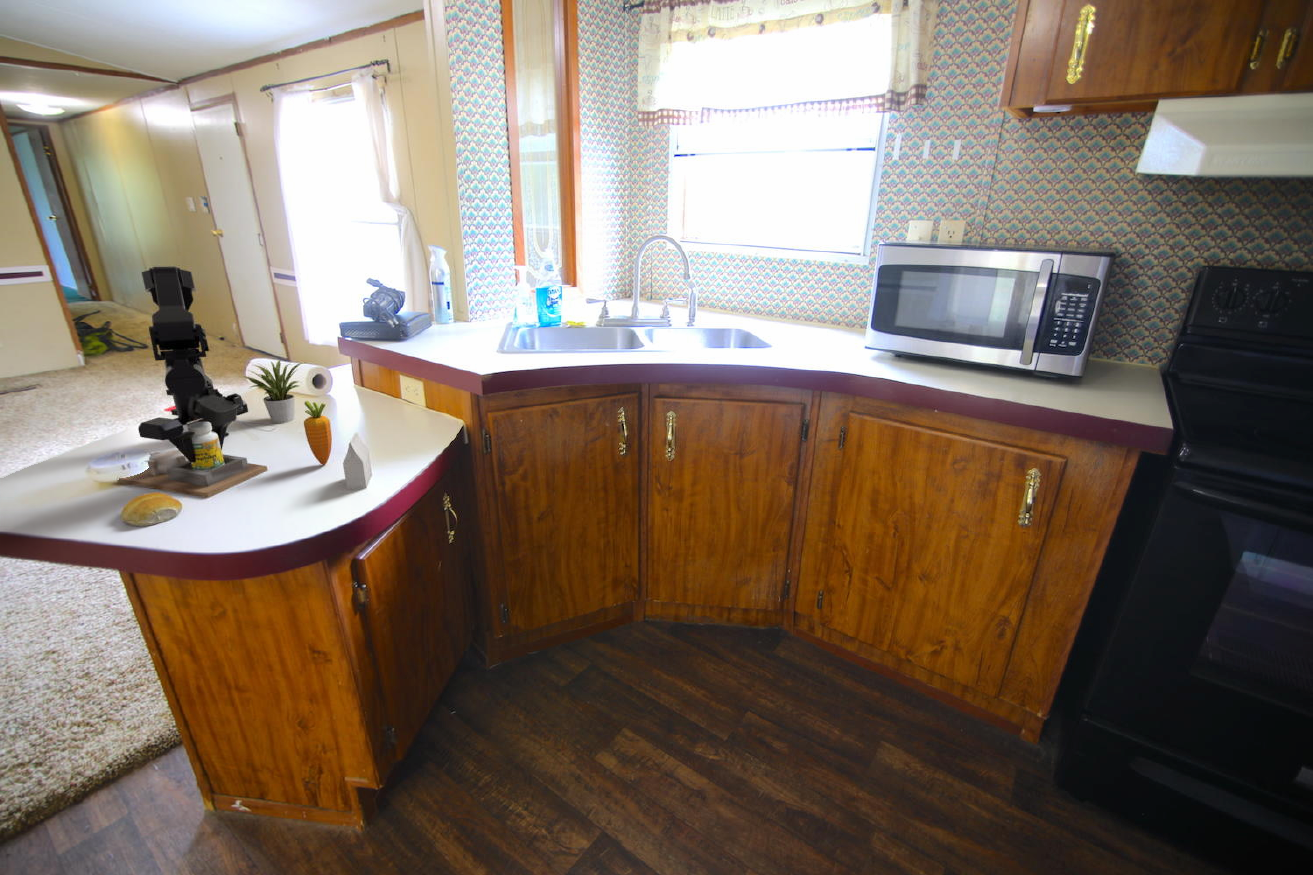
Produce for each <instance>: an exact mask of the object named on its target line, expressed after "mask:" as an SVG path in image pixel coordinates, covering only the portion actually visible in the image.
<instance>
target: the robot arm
mask: <svg viewBox="0 0 1313 875" xmlns="http://www.w3.org/2000/svg"><path fill="white" fill-rule="evenodd" d="M141 276H142V282H143V285H144V289H145V291H146V293H150V294H151V297H152V302H153V303H154V304H156V306H157V308H158V310H156V312H154V313H153V314H152V315H151V321H152V323H151V324H152V326H150V325H149V326H148V332H149V336H150V342H151V347H152V350H153V358H154V360H155V361H156V362H157V361H158V362H159V361H164V362H163V363H164V365H165V366H164V367H165V374H164V383H165V386H166V388H167V389H166V390H165V391H166V395H167V396H172V398H173V402H174V407H175V408H174V409H170V412H171V416H177V417H176V418H167V417H161V416H160V417H156V418H152V419H148V420H145V421H142V422H140V424H139V425H138V434H139V437H140V438H144V439H150V440H158V441H169V442H170V443H171V444H172V445H173V446H174V447H176V448H177V449H176V450H179V451H180V452H181V453H182V454H183V455H184V456H185V457H186V458H187V459H188V460H189V461H190V462H193V463H194V462H196V457H195V452H194V448H193V443H192V437H193V435H194V434H195V432H189V431H188V427H187V425H190V424H193V423H196V422H210V423H211V426H212V430H211V431H213V432H215V433H217V435H218V438H219V442H220V446H221V450H222V451H223V447H224V442H225V437H226V436H229V434H230V433H229V432H227V430H228V426H229V425H230V424H231V423H232V422H235V421H236V420H237V418H238V416H241V415H244V414H246V413H249V407H248V404H247V402H246V401H245V400H243V398H242V395H241V394H238V393H232V394H229V395H227V396H225V395H223V394H222V393H221V392H220V391H219V390H218V388H214V382H213V379H211V378H210V377H209V376H208V375H207V374H206V373H205V369H204V364H203V360H202V358H206V357H207V353H206V352H210V348H209V344H208V343H209V342H208V340H207V335H206V330H205V329H204V327H202V325H201V324H200V323H196V322H195V318H194V315H193V313H192V312H190V311H189V310H190V308H191V306H192V304H193V302H194V295H193V292H196V287H195V283H194V282H195V281H194V277H193V274H192V271H189V270H185V269H181V267H177V266H171V265H170V266H152V267H149V268H148V270H145V271H141ZM200 348H201V351H200Z"/></svg>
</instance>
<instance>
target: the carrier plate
mask: <svg viewBox="0 0 1313 875" xmlns="http://www.w3.org/2000/svg"><path fill="white" fill-rule="evenodd" d="M222 455H223V459H224V463H225V464H224V465H222V466H219V467H217V468H215V469H212V470H210V471H207V472H202V471H196V470H193V468H192V464H191V462H190V461H189V460H188V459H187V458H186V457H185V456H184V455H183V454H182V453H181V452H180V451H179V450H178V449H169V450H167V449H166V450H163V451H154V452H152V453H150V456H148V460H147V461H146V462H147V465H148V466H149V468H148V469H147V470H145V471H144V472H142V473H140V474H137V475H134V476H130V477H126V478H119V477H118V478H119V480H117V483H118V484H125V485H129V486H136V487H143V488H147V489H148V488H149V489H154V490H159V491H165V492H173V493H176V494H177V493H179V494H184V495H190V496H197V497H201V498H208V499H209V498H210V497H213V496H215V495H217V494H219V493H221V492H224V491H226V490H229V489H230V488H232V487H234V486H237V485H239V484H241V483H244V482H245V481H247V480H250V479H252V478H255V477H257V476H258V475H260V473H261V474H263V473H265V472H267V471H268V466H267V465H262V464H255V463H248V458H247V457H242V456H237V455H229V454H223V453H222ZM148 466H147V467H148ZM264 471H265V472H264ZM262 472H263V473H262Z"/></svg>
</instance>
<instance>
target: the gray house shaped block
mask: <svg viewBox="0 0 1313 875" xmlns="http://www.w3.org/2000/svg"><path fill="white" fill-rule="evenodd" d="M342 466H343V472H344V473H343V474H344V479H345V486H346V490H361V489H363V490H364V489H368V486H369V484H370V480H371V478H372V476H373V472H372V466H371V457H370V450H369V448H368V447H367V446H366V444H365V443H364V442H363V440H362V438H361V437H360V436H359V434H358V432H354V435H352V438H351V439H350V442H349V443H348V448H347V452H346V453H345V457H344V458H343V462H342Z"/></svg>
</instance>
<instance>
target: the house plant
mask: <svg viewBox="0 0 1313 875" xmlns="http://www.w3.org/2000/svg"><path fill="white" fill-rule="evenodd" d="M270 363H271V365H272V371H273V374H272V373H271V371H270V370H268V369H267V368H266V367H265V366H263V365H261V364H260V363H258V364H259V365H257V364H251V366H254V367H256V368H257V369H258V370H260V371H261V372H262V373H263V374H261V373H259V374H258V373H256V372H254V371H252V370H249V369H247V371H248V372H251V373H253V374H255V375H256V376H258V377H259V378H261V380H263V381H264V382H265V383H264V382H263V381H260V380H258V379H256V378H253V377H250V376H246V375H243V377H244V378H245V379H247V380H249V381H250V382H251V383H253V384H254V385H251V386H250V387H249V388H248V390H250V389H251V388H254V387H256V388H258V389H263V390H264V391H265V392H264V394H263V395H264V396H265V395H268V396H265V397H264V398H263V399H262V400H263V402H264V405H265V408H266V410H267V412H268V415H269V417H270V421H271V422H272V423H273V424H285V422H286V423H289V422H292V421H294V420H295V408H296V407H295V403H296V402H295V398H296V397H295V395H294V394H291V393H288V392H289V391H290V390H292V389H294V388H297V387H299V385H298V384H297V383H299V381H298V380H293V381H291V382H290V383H289V380H290V379H291V377H292V376H293V375H294V373H296V370H295V369H297V370H298V369H299V368H297V367H299V366H300V365H302V364H305V363H307V361H303V362H300V363H297V364H295V365H294V366H293V367H291V369H290V371H289V372H287V368H288V367H289V366H290V363H288V364H286V365H284V367H283V370H282V373H281V365H282V364H281V359H279V360H277V362H276V364H274V363H273V361H270ZM257 369H256V370H257ZM280 373H281V374H280ZM286 374H287V375H286ZM288 383H289V384H288ZM300 383H302V384H303V382H301V381H300ZM287 384H288V385H287ZM295 384H297V385H295Z"/></svg>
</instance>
